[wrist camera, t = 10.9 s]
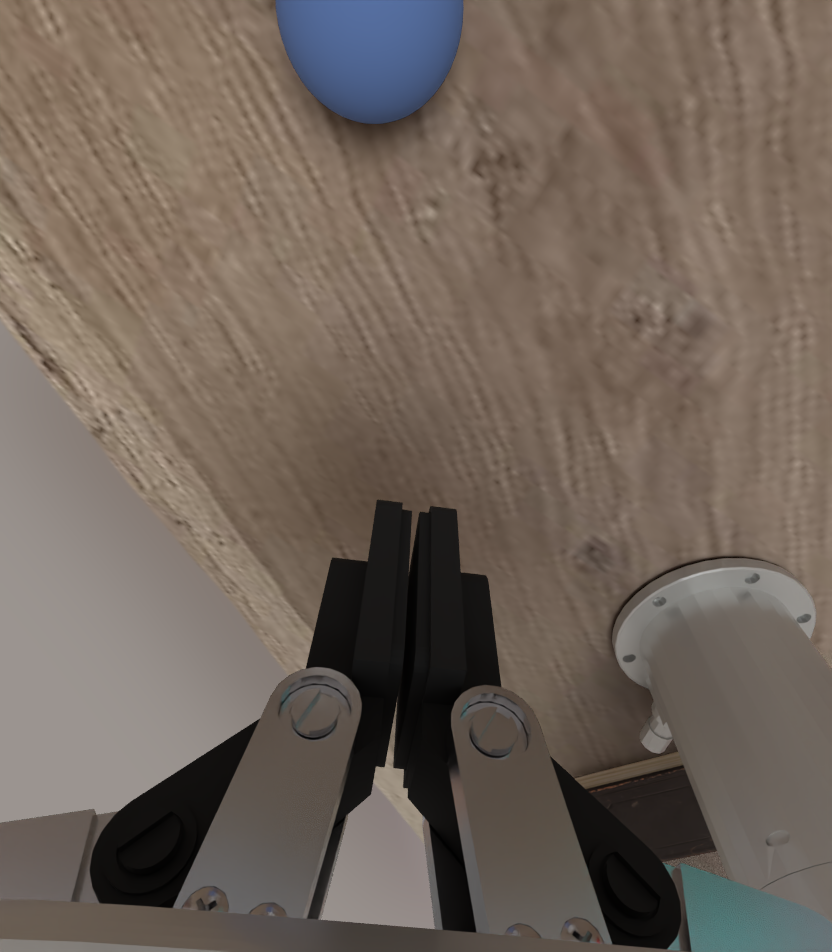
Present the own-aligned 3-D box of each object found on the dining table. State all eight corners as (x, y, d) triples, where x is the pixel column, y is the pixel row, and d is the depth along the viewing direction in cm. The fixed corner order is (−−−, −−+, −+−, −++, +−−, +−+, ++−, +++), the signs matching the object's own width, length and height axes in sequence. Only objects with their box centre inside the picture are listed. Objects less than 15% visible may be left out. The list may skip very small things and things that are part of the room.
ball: (471, -190, 15) (511, 64, 19) (320, -114, 18) (383, 87, 23) (346, -119, 13) (424, 151, 17) (198, -48, 16) (296, 163, 20)
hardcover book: (562, 770, 48) (567, 797, 46) (844, 697, 42) (864, 725, 40) (619, 846, 56) (626, 872, 54) (867, 793, 49) (885, 821, 47)
